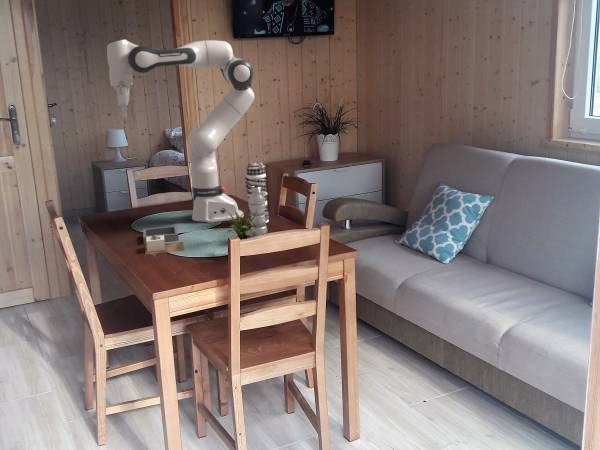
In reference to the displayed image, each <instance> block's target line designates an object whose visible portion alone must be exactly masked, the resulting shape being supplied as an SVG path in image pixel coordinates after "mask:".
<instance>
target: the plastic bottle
mask: <svg viewBox="0 0 600 450" xmlns="http://www.w3.org/2000/svg"><path fill="white" fill-rule="evenodd" d="M251 192H252V194H251V196H250V197H249V196H248V200H247V202H248V203H247V204H248V206H249V208H250V212H249V213H250V214H251V219H252V218H253V217H254V216H255V215H257V214H258V215H257V216H255V217H254V219H253V220H252V221H251V223H250V226H254V227H252V228H250V230H249V233H250V235H252V238H253V237H254V236H258V235H262V234H266V233H267V234H268V227H267V223H266V222H265V198H264V197H263V195H262V194H261V187H260V186H253V187H251ZM249 208H248V209H249ZM254 228H256V229H254ZM252 229H254V230H252ZM251 230H252V231H251ZM250 231H251V232H250Z"/></svg>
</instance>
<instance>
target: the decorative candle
mask: <svg viewBox="0 0 600 450" xmlns="http://www.w3.org/2000/svg"><path fill="white" fill-rule="evenodd" d="M265 167H266V165H264V164H263V163H262V162H260V161H258V162H257V161H255V162H249V163H248V164H247V165H246V167H245V168H246V176H245V177H244V179H245V180H246V181H245V184H246V186H245V188H246V193H247V194H246V195H247V196H248V198H249V197H250V196H251V194H252V192H251V187H253V186H260V187H261V194H262V195H263V197H264V198H265V222H266V224H267V223H269V221H270V220H269V219H270V218H269V208H268V207H269V205H268V200H267V195H268V192H267V191H268V188H267V187H268V184H266V183H267V182H268V180H267V179H268V176H267V175H266V168H265ZM247 208H248V210H247V211H248V212H249V213H248V216H249V214H250V208H249V205H248V206H247ZM250 221H251V214H250V217H249V220H248V223H249V222H250ZM250 224H251V222H250Z"/></svg>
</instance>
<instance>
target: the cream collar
mask: <svg viewBox="0 0 600 450" xmlns="http://www.w3.org/2000/svg"><path fill="white" fill-rule="evenodd" d="M146 242H147V244H146V245H147V252H153V251H163V250H165V243H166V242H165V241H164V235H161V236H158V239H157V240H153V238H152V236H151V237H146Z"/></svg>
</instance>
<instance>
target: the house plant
mask: <svg viewBox="0 0 600 450" xmlns="http://www.w3.org/2000/svg"><path fill="white" fill-rule="evenodd" d="M227 213H228V212H227ZM235 213H236V218H237V219H234V218H233V216H232V215H231V214H230V213H228V214H229V215H230V216H231V217H232V220H231V219H230V218H229V219H230V220H227V219H226V220H225V221H228V222H229V223H230V224H231V225H230V226H229V228H231V229H228V228H226V227H225V228H222V229H225V230H227V231H226V234H229V233H231V232H232V233H233V231H234V232H235V236H237V237H239V238H240V239H241V240H242V239H247V238H251V237H252V235H251V233H250V232H251V231H252V230H254V229H256V228H254V229H252V230H251V231H250V228H252V227H254V226H251V223H250V222H251V221H252V220H253V219H254V217H255V216H257V215H258V214H257V215H255V216H254V217H253V218H252V219H251V221H250V220H249V217H250V214H249V213H248V214H249V216H248V217H247V219H245V220H244V222H243V217H242V216H241V217H240V216H239V215H238V214H237V212H236V211H235ZM242 213H243V214H244V211H242ZM243 214H242V215H243ZM227 218H228V217H227ZM249 221H250V222H249ZM249 225H250V226H249ZM252 238H253V237H252Z"/></svg>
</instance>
